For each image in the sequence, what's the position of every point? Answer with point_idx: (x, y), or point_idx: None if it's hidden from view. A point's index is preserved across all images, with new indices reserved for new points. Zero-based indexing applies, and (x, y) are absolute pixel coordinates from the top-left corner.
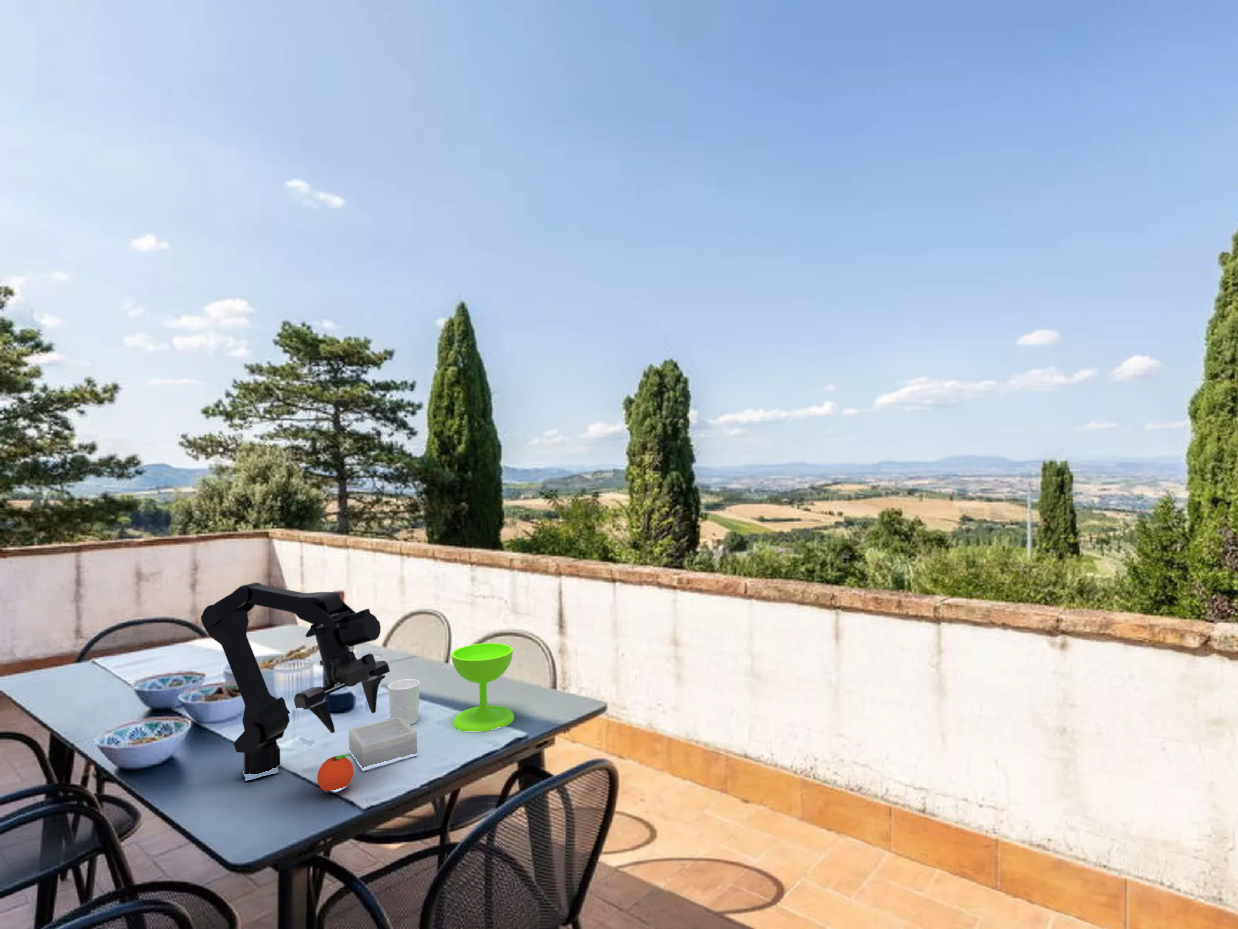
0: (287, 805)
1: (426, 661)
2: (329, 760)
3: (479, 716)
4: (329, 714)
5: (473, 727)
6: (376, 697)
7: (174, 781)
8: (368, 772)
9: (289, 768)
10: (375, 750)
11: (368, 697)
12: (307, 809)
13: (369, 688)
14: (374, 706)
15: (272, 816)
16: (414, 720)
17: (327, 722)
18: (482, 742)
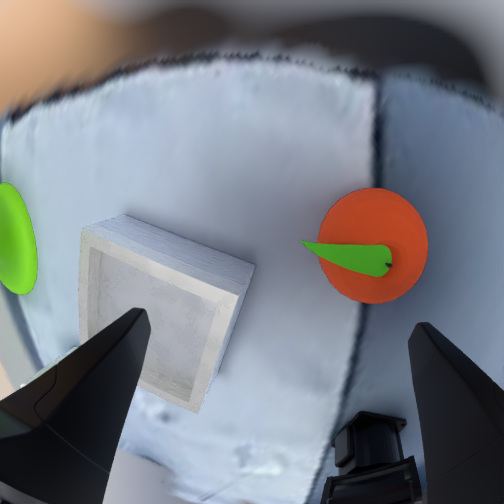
0: (453, 275)
1: None
2: (406, 269)
3: (3, 237)
4: (485, 404)
5: (20, 216)
6: (66, 358)
7: (421, 470)
8: (247, 248)
9: (333, 414)
10: (203, 269)
11: (109, 413)
12: (449, 214)
13: (63, 452)
14: (117, 329)
15: (488, 258)
16: (73, 349)
17: (477, 367)
18: (36, 153)
